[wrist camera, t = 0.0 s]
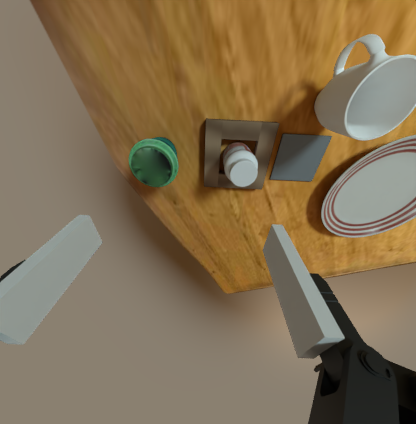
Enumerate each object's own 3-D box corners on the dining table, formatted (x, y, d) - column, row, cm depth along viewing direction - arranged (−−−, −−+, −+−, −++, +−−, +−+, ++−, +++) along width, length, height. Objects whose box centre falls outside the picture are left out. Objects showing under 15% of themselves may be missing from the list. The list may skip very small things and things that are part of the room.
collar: (206, 118, 32) (205, 119, 30) (275, 122, 32) (279, 123, 30) (204, 182, 40) (203, 186, 38) (259, 185, 40) (261, 189, 38)
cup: (144, 130, 33) (116, 143, 24) (182, 127, 33) (169, 139, 23) (155, 168, 38) (135, 192, 28) (188, 165, 38) (179, 189, 28)
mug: (353, 115, 31) (419, 122, 21) (305, 136, 33) (344, 151, 23) (357, 35, 25) (451, -7, 15) (297, 68, 27) (345, 50, 17)
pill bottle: (251, 165, 37) (263, 187, 28) (225, 171, 38) (229, 194, 29) (248, 137, 34) (261, 151, 25) (219, 145, 35) (222, 161, 26)
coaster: (282, 133, 33) (283, 133, 33) (330, 136, 33) (331, 136, 33) (269, 178, 39) (270, 179, 38) (310, 180, 39) (311, 181, 38)
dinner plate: (461, 182, 38) (480, 189, 36) (345, 244, 51) (353, 252, 49) (423, 97, 29) (444, 97, 26) (293, 198, 42) (299, 204, 39)
